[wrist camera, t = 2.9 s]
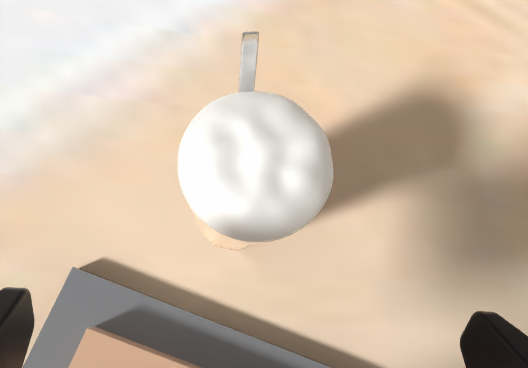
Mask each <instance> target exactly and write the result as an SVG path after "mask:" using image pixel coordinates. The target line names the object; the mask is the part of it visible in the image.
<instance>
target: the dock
mask: <svg viewBox="0 0 528 368" xmlns="http://www.w3.org/2000/svg"><path fill="white" fill-rule="evenodd" d="M23 368H332V367H329V366H327V365H324V364H321V363H319V362H316V361H314V360H311V359H309V358H306V357H304V356H301V355H298V354H296V353H293V352H291V351H288V350H286V349H283V348H280V347H278V346H275V345H273V344H270V343H268V342H265V341H263V340H260V339H257V338H255V337H252V336H250V335H247V334H245V333H242V332H239V331H237V330H234V329H232V328H229V327H227V326H224V325H222V324H219V323H216V322H214V321H211V320H209V319H206V318H204V317H201V316H198V315H196V314H193V313H191V312H188V311H186V310H183V309H181V308H178V307H175V306H173V305H170V304H168V303H165V302H163V301H160V300H158V299H155V298H152V297H150V296H147V295H145V294H142V293H140V292H137V291H134V290H132V289H129V288H127V287H124V286H122V285H119V284H117V283H114V282H111V281H109V280H106V279H104V278H101V277H99V276H96V275H93V274H91V273H88V272H86V271H83V270H81V269H78V268H75V267H73V268H72V270H71V272H70V274H69V276H68V278H67V280H66V282H65V284H64V286H63V288H62V290H61V292H60V294H59V296H58V298H57V300H56V302H55V304H54V306H53V308H52V310H51V312H50V314H49V316H48V318H47V320H46V322H45V324H44V326H43V328H42V330H41V332H40V334H39V336H38V338H37V340H36V342H35V344H34V346H33V348H32V350H31V352H30V354H29V356H28V358H27V360H26V362H25V364H24V366H23Z"/></svg>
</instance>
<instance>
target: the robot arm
mask: <svg viewBox="0 0 528 368" xmlns="http://www.w3.org/2000/svg"><path fill="white" fill-rule="evenodd" d="M33 329H34V314H33V307H32V300H31V294H30V292H29V290H28V289H26V288H11V287H7V288H4V289H2V290H0V368H22V366H23V362H24V359H25V356H26V353H27V349H28V346H29V343H30V339H31V336H32V333H33ZM460 348H461V352H462V355H463V359H464V362H465V365H466V368H528V336H527V335H525V334H524V333H523V332H521V331H520V330H519V329H517V328H516V327H514V326H513V325H512V324H510V323H509V322H508V321H506V320H505V319H504V318H502V317H501V316H500V315H498V314H497V313H494V312H484V311H477V312H475V313H474V314H473V315H472V316H471V318H470V320H469V322H468V324H467V326H466V328H465V330H464V331H463V333H462V335H461V338H460Z"/></svg>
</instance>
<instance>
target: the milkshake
mask: <svg viewBox="0 0 528 368" xmlns="http://www.w3.org/2000/svg"><path fill="white" fill-rule="evenodd" d="M258 43H259V32H244V33H243V34H242V43H241V60H240V77H239V93H234V94H230V95H227V96H224V97H221V98H219V99H216V100H214V101H213V102H211V103H209V104H208V105H207V106H205V107H204V108H203V109H202V110H201V111H200V112H199V113H198V114H197V115H196V116H195V118H194V119H193V120H192V121H191V123H190V124H189V126H188V128H187V129H186V131H185V133H184V135H183V138H182V140H181V143H180V147H179V153H178V176H179V182H180V186H181V189H182V192H183V194H184V196H185V199H186V200H187V202H188V204H189V206H190V207H191V209H192V212H193V215H194V218H195V221H196V224H197V226H198V229H199V230H200V231H201V232H202V233H203V234H204V236H205V237H206V238H207V239H208V240H209V241H210V242H211V243H212V244H213V245H214V246H218V247H223V248H228V249H233V250H239V249H241V248H244V247H247V246H250V245H253V244H257V243H263V242H269V241H274V240H278V239H281V238H284V237H287V236H289V235H291V234H293V233H295V232H297V231H298V230H300V229H301V228H303V227H304V226H305V225H307V224H308V223H309V222H310V221H311V220H312V219H313V218H314V217H315V216H316V215H317V214H318V213H319V211H320V210H321V209H322V207H323V206H324V204H325V202H326V201H327V199H328V196H329V194H330V191H331V188H332V183H333V162H332V155H331V149H330V145H329V141H328V138H327V136H326V134H325V132H324V130H323V129H322V128H321V126H320V125H319V124H318V123H317V122H316V121H315V120H314V119H313V118H312V117H311V116H310V115H309V114H308V113H307V112H306V111H305V110H304V109H303V108H302V107H300V106H299V105H298V104H297V103H295V102H294V101H292V100H290V99H288V98H286V97H284V96H281V95H277V94H273V93H267V92H256V91H254V87H255V76H256V65H257V54H258Z"/></svg>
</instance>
